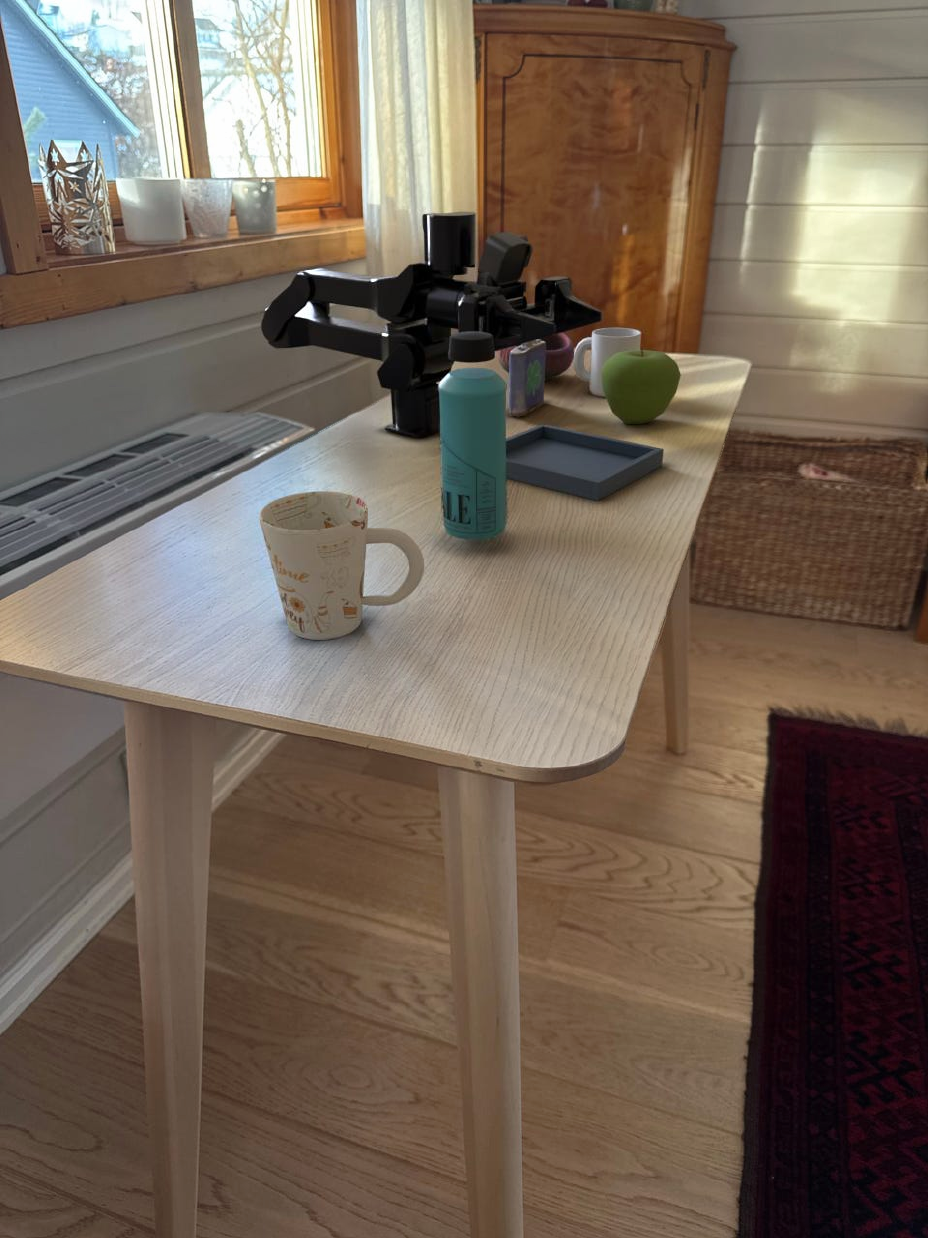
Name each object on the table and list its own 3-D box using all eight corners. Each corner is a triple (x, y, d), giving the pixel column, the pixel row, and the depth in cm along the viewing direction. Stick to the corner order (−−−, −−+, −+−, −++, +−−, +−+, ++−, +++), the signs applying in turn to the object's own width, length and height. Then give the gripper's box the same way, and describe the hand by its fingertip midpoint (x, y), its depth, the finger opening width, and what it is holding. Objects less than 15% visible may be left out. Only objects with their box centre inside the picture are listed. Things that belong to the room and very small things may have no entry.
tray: (471, 469, 107) (471, 452, 106) (541, 439, 117) (541, 423, 116) (597, 501, 97) (598, 482, 96) (662, 465, 107) (663, 448, 106)
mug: (279, 602, 78) (265, 493, 73) (424, 594, 78) (419, 486, 74) (269, 651, 70) (252, 533, 66) (428, 642, 71) (424, 525, 66)
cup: (631, 399, 133) (635, 338, 129) (566, 394, 137) (568, 334, 132) (641, 388, 139) (645, 328, 135) (578, 383, 143) (580, 325, 138)
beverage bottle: (515, 532, 90) (518, 327, 81) (496, 559, 85) (496, 342, 75) (454, 525, 92) (449, 324, 82) (431, 551, 87) (423, 338, 77)
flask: (521, 418, 126) (522, 339, 121) (502, 415, 127) (502, 338, 122) (547, 402, 133) (549, 327, 128) (529, 400, 134) (530, 326, 129)
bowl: (583, 372, 149) (585, 322, 145) (559, 391, 138) (561, 338, 135) (493, 365, 154) (493, 317, 151) (464, 383, 144) (463, 331, 140)
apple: (667, 435, 118) (675, 358, 113) (589, 428, 121) (593, 353, 116) (682, 413, 127) (689, 341, 122) (609, 407, 130) (613, 337, 125)
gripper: (416, 241, 98) (531, 253, 89) (519, 227, 111) (628, 236, 102) (419, 345, 104) (527, 366, 95) (516, 320, 116) (620, 337, 107)
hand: (578, 322), depth 100 cm, fingers open, 9 cm apart
